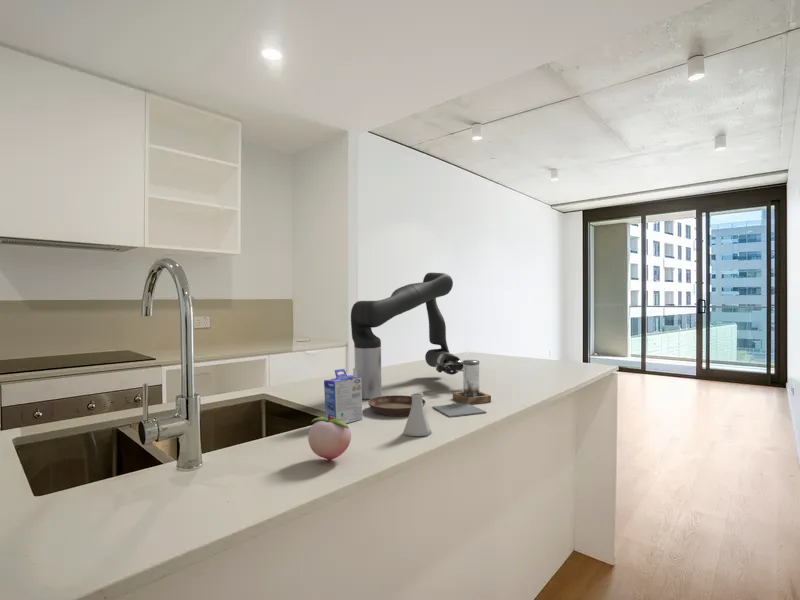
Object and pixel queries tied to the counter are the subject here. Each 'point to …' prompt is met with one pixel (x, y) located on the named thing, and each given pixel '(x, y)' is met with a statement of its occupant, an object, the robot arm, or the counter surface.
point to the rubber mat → (458, 409)
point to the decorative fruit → (329, 437)
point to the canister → (471, 378)
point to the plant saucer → (392, 405)
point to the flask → (417, 418)
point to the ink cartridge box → (343, 397)
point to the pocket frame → (472, 398)
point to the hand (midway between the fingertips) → (461, 370)
